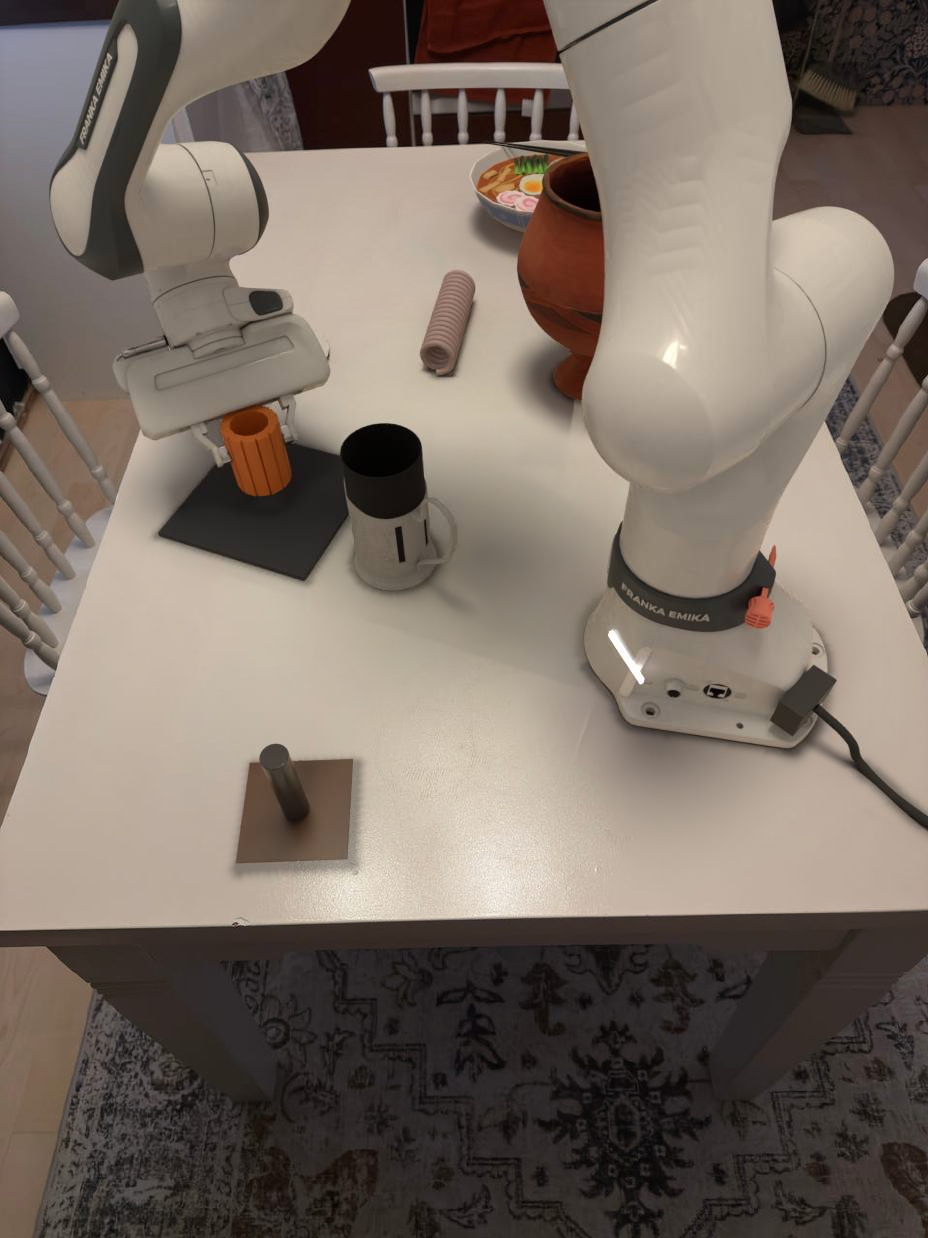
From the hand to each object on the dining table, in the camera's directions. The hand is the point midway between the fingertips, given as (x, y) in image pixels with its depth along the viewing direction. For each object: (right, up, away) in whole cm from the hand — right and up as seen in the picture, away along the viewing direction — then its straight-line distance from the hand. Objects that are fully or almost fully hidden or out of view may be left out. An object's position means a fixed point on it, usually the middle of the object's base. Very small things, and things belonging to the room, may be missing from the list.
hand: (259, 453), depth 87 cm
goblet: (+37, +13, +18) cm, 43 cm away
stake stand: (+7, -34, -17) cm, 38 cm away
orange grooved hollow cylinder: (0, -2, +3) cm, 4 cm away
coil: (+19, +21, +25) cm, 38 cm away
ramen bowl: (+34, +44, +42) cm, 69 cm away
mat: (0, -4, +6) cm, 8 cm away
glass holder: (+16, -13, 0) cm, 20 cm away
